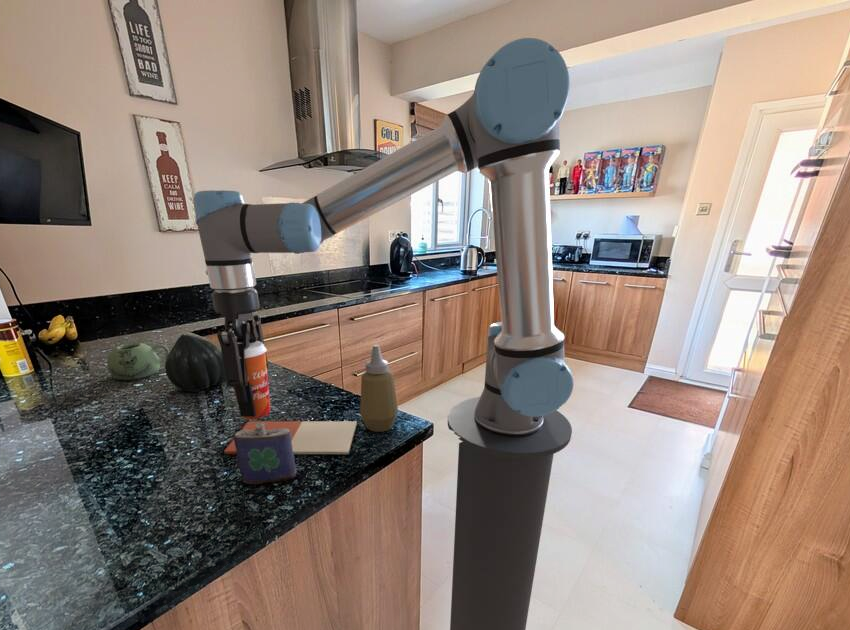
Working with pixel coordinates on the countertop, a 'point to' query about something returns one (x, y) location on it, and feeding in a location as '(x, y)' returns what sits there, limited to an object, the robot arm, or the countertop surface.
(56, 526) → the countertop surface
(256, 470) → the flask
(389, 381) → the squeeze bottle
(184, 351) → the squash
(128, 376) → the mug
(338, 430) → the board
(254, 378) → the paper cup
